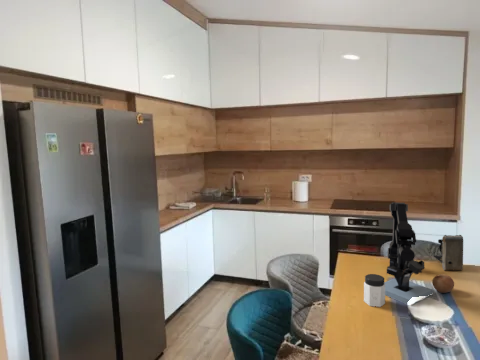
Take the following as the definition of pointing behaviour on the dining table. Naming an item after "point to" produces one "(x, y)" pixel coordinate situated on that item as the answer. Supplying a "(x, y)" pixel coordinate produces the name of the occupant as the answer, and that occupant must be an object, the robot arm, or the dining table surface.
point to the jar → (374, 290)
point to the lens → (405, 282)
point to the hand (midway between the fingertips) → (403, 285)
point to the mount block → (402, 296)
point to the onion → (443, 283)
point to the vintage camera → (451, 252)
